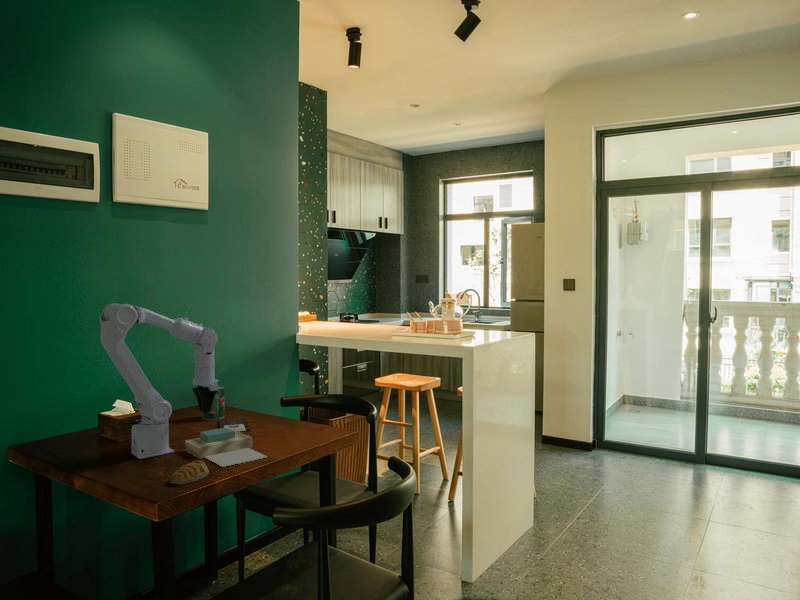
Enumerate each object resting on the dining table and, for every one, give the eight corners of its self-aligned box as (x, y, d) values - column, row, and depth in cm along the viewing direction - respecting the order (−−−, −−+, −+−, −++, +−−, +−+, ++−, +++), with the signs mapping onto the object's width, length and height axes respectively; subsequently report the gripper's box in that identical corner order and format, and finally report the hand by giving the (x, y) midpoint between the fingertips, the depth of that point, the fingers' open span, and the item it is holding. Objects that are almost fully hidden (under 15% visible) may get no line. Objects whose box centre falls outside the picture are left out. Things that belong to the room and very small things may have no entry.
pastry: (183, 488, 132) (183, 472, 132) (161, 484, 135) (161, 469, 135) (211, 475, 141) (211, 460, 141) (190, 472, 144) (189, 458, 143)
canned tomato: (229, 417, 204) (228, 387, 203) (209, 421, 198) (208, 390, 198) (217, 414, 209) (216, 384, 209) (197, 418, 203) (197, 387, 203)
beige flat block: (198, 458, 154) (198, 447, 154) (185, 450, 162) (185, 440, 162) (252, 447, 165) (252, 437, 165) (237, 440, 172) (237, 431, 172)
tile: (208, 443, 159) (208, 436, 159) (200, 438, 164) (200, 431, 164) (235, 437, 164) (235, 431, 164) (226, 434, 169) (226, 427, 169)
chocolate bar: (244, 417, 201) (250, 429, 184) (244, 420, 201) (250, 432, 184) (218, 420, 197) (221, 432, 181) (218, 422, 197) (221, 435, 181)
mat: (222, 468, 146) (222, 466, 146) (204, 457, 155) (204, 456, 155) (267, 458, 155) (267, 456, 155) (248, 448, 164) (248, 447, 164)
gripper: (227, 368, 168) (228, 413, 168) (208, 363, 179) (208, 405, 179) (204, 370, 163) (204, 417, 163) (185, 365, 174) (186, 409, 174)
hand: (205, 411), depth 171 cm, fingers closed
